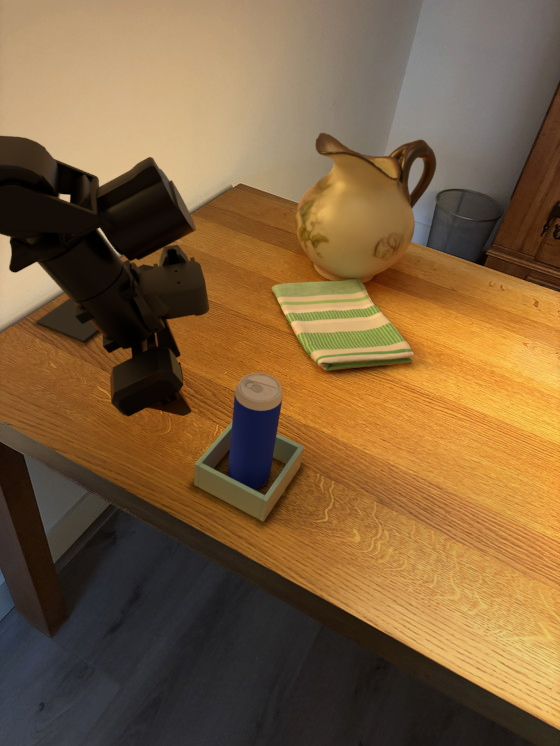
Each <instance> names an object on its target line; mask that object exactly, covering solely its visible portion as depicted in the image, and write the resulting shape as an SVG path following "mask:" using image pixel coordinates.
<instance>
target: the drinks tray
mask: <svg viewBox="0 0 560 746" xmlns="http://www.w3.org/2000/svg"><path fill="white" fill-rule="evenodd" d="M231 431H232V421H231V422H230V423H229V424H228V426H226V428H225V429H224V430H223V431H222V432H221V433H220V434H219V436H218V437H217V438H216V439H215V440H214V441H213V442H212V444H210V446H209V447H208V448H207V449H206V450H205V452H204V453H203V454H202V455H201V456H200V457H199V458H198V459H197V461H196V462H195V463H194V478H193V479H194V480H193V481H194V483H193V484H194V486H195V487H197V488H199V489H201V490H203V491H204V492H206V493H208V494H210V495H212V496H214V497H215V498H217V499H219V500H221V501H223V502H225V503H227V504H229V505H231V506H233V507H234V508H237V509H239V510H240V511H242V512H244V513H246V514H248V515H249V516H251V517H253V518H255V519H257V520H259V521H261V522H263V523H264V522H265V520H266V519H267V518H268V516H269V514H270V513H271V511H272V510H273V509H274V507H275V505H276V504H277V503H278V501H279V499H280V498H281V497H282V495H283V494H284V492H285V491H286V489H287V487H288V486H289V485H290V483H291V481H292V480H293V478H294V477H295V475H296V474H297V472H298V471H299V469H300V468H301V465H302V459H303V455H304V450H305V446H304V445H302V444H300V443H298V442H296V441H293V440H291V439H289V438H287V437H285V436H283V435H281V434H279V433H277V435H276V441H275V447H274V453H273V459H275V460H277V461H279V462H281V463H283V464H285V466H284V467H283V469H282V470H281V471H280V473H279V474H278V476H277V478H276V479H275V480H274V482H273V483H272V484H271V486H270V487H269V488H268V490H267V491H266V493H265V494H263V493H261V492H259V491H258V490H256V489H255V490H253V489H251V488H249V487H248V486H246V485H244V484H242V483H240V482H238V481H236V480H234V479H232V478H230V477H229V475H226V474H224V473H222V472H220V471H218V470H217V469H215V468H216V467H217V465H218V464H219V463H220V462H221V460H222V459H223V458H224V457H225V456H226V454H227V453H228V452H230V443H231Z"/></svg>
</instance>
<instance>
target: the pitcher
mask: <svg viewBox="0 0 560 746" xmlns="http://www.w3.org/2000/svg"><path fill="white" fill-rule="evenodd" d="M314 146H315V151H316V152H317V154H319V155H320V156H323V157H327V158H330V159H332V161H333V165H332V168H331V169H330V171H328V173H326V174H325V175H324V176H322V177H321V178H320V179H318V180H317V181H316V182H315V183H313V184H312V185H311V186H310V187H309V188H308V189H307V190H306V192H305V193H304V194H303V195H302V197H301V198H300V200H299V202H298V204H297V207H296V210H295V215H294V216H295V217H294V224H295V232H296V235H297V239H298V242H299V244H300V246H301V248H302V250H303V251H304V253H305V254H306V256H307V257H308V259H309V260H310V261H311V262H312V263H313V268H314V270H315V271H316V273H317V274H318V275H320V276H321V277H322V278H324V279H325V280H327V281H343V280H347V279H352V278H359V279H360V280H361V281H362V283H363V284H366V283H368V282H370V281H371V280H372V279H374V277H375V276H376V275H379V274H380V273H382V272H384V271H387V270H388V269H389V268H391V267H393V265H395V264H397V262H398V261H399V260H400V259H401V258H402V257H403V256H404V255H405V253H406V251H407V250H408V248H409V247H410V245H411V242H412V241H413V239H414V238H413V237H414V233H415V226H416V225H415V224H416V221H415V216H414V215H415V214H414V212H413V208H414V207H415V205H416V204H417V203H418V201H419V200H420V199H421V198H422V196H423V195H424V193H425V192H426V191H427V189H428V188H429V186H430V184H431V183H432V180H433V179H434V177H435V174H436V170H437V158H436V154H435V152H434V150H433V148H432V147H431V146H430V145H429V144H428V143H427V142H426V141H425V140H424V139H421V138H420V139H416V140H413V141H410V142H406V143H403V144H401V145H400V146H398V147H396V148H395V149H394V150H393V151H392V152H391V153H390V154H389V155H382V156H380V155H379V156H377V155H376V156H374V155H369V154H368V155H367V154H362V153H360V152H358V151H355V150H353V149H350V148H349V147H348V146H346V145H345V144H343V143H342V142H341V141H340V140H338V138H336V137H334V136H333V135H331V134H329V133H325V132H320V133H319V134H318V136H317V138H316V139H315V144H314ZM416 159H422V162H423V169H422V172H421V176H420V178H419V179H418V182H417V183H416V185H415V186H414V188H413V190H412V191H411V192H410V189H409V178H410V172H411V168H412V167H413V164H414V162H415V161H416Z"/></svg>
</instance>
